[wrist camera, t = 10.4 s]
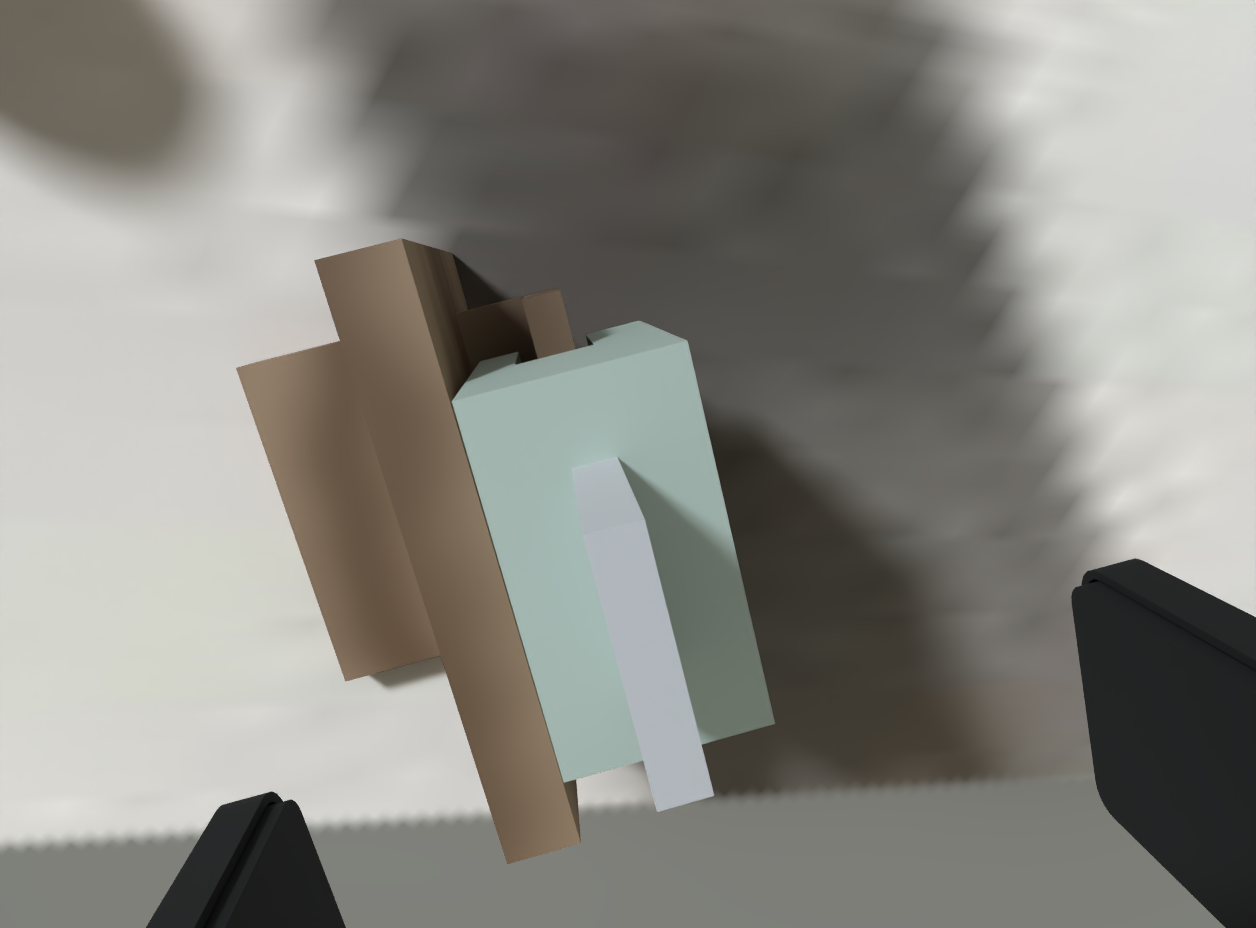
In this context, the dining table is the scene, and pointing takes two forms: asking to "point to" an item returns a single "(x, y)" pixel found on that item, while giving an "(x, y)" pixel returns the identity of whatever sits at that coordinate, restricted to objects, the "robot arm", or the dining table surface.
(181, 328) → the dining table surface
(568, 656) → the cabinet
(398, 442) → the brown boxy piece
